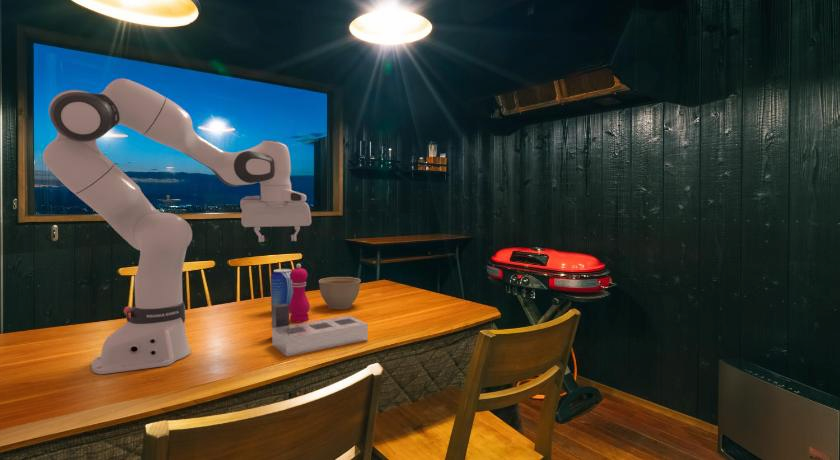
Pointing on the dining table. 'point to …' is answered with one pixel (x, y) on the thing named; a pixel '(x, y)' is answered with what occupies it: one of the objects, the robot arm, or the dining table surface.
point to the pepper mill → (299, 295)
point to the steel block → (280, 315)
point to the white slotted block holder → (318, 335)
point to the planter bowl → (339, 291)
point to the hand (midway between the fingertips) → (277, 241)
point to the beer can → (281, 287)
